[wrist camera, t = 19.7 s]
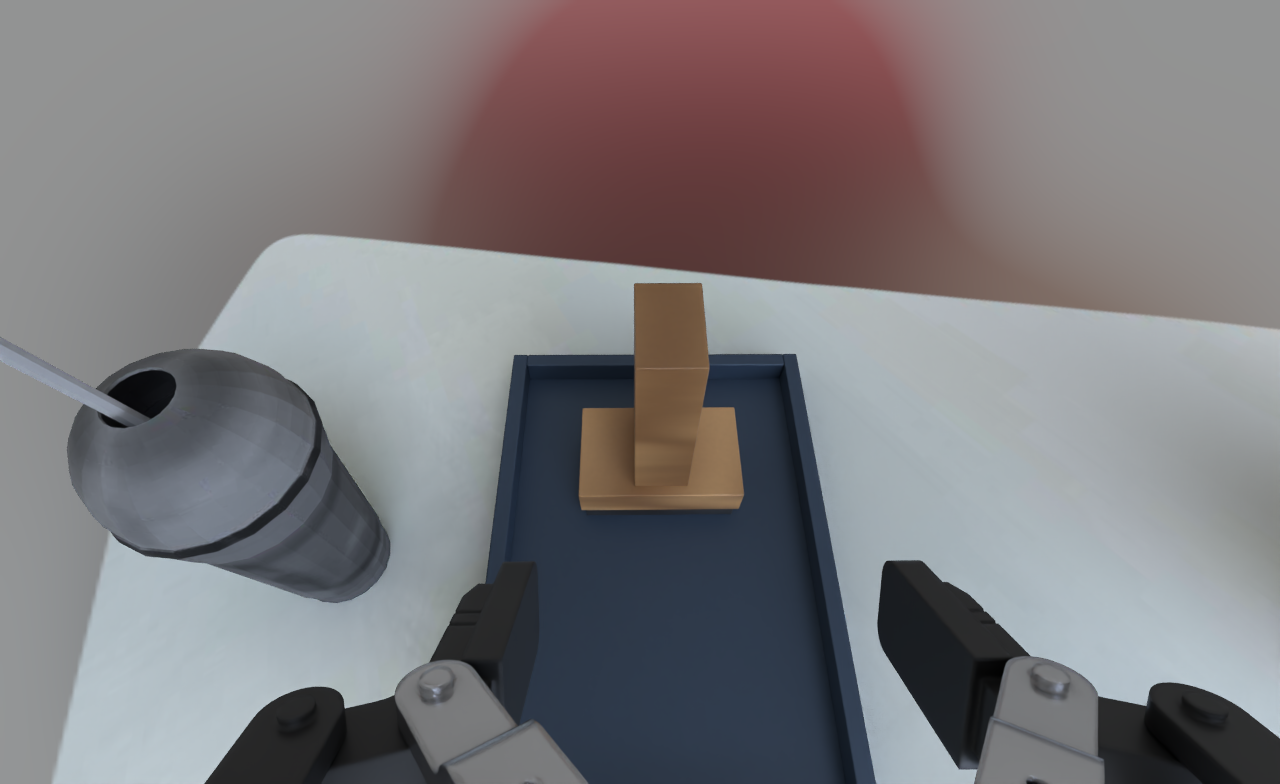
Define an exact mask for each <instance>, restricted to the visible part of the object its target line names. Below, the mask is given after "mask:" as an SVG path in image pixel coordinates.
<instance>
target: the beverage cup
mask: <svg viewBox="0 0 1280 784" xmlns="http://www.w3.org/2000/svg"><path fill="white" fill-rule="evenodd" d="M0 361H2V362H3V363H5V364H7V365H9V366H12V367H13V368H15V369H17V370H19V371H21V372H23V373H25V374H27V375H29V376H31V377H33V378H35V379H37V380H39V381H40V382H42V383H44V384H46V385H48V386H50V387H52V388H54V389H56V390H58V391H60V392H62V393H64V394H66V395H68V396H69V397H71V398H73V399H76V400H77V401H79V402H81V403H83V406H82V407H81V409H80V410H79V412H78V413H77V415H76V417H75V420H74V423H73V426H72V429H71V432H70V435H69V438H68V446H67V454H68V463H69V473H70V477H71V481H72V485H73V487H74V489H75V491H76V492H77V494H78V496H79V497H80V499H81V500H82V501H83V503H84V504H85V506H86V507H87V509H88V510H89V512H90V513H91V514H92V516H93V517H94V518H95V519H96V520H97V521H98V522H99V523H100V524H101V525H102V526H103V527H104V528H106V529H108V530H109V531H110V532H111V533H112V534H113V536H114V537H115V538H116V539H117V540H118V541H119V542H120V543H121V544H123V545H125V546H127V547H129V548H131V549H133V550H135V551H137V552H139V553H141V554H143V555H145V556H149V557H160V558H171V559H177V560H183V561H189V562H198V563H207V564H210V565H213V566H216V567H219V568H222V569H224V570H227V571H230V572H233V573H236V574H239V575H242V576H245V577H248V578H251V579H254V580H256V581H259V582H262V583H265V584H268V585H271V586H274V587H277V588H280V589H283V590H286V591H288V592H291V593H294V594H297V595H300V596H303V597H306V598H314V599H318V600H320V601H323V602H333V603H338V602H342V601H347V600H351V599H353V598H355V597H357V596H359V595H361V594H362V593H364V592H366V591H367V590H368V589H369V588H370V587H371V586H372V585H374V584H375V583H376V582H377V581H378V579H379V578H380V576H381V575H382V573H383V571H384V570H385V568H386V565H387V562H388V559H389V556H390V541H389V538H388V536H387V533H386V531H385V529H384V528H383V527H382V525H381V523H380V520H379V517H378V516H377V514H376V513H375V511H374V510H373V508H372V507H371V505H370V504H369V502H368V501H367V499H366V498H365V496H364V495H363V493H362V492H361V490H360V489H359V487H358V486H357V484H356V483H355V481H354V480H353V478H352V477H351V475H350V474H349V472H348V471H347V469H346V468H345V466H344V465H343V463H342V462H341V460H340V459H339V457H338V456H337V454H336V453H335V451H334V450H333V448H332V447H331V445H330V443H329V440H328V437H327V435H326V432H325V430H324V427H323V425H322V421H321V419H320V416H319V413H318V410H317V408H316V405H315V402H314V401H313V400H312V399H311V398H310V397H309V396H308V395H307V394H306V393H305V392H304V391H303V390H302V389H301V388H300V387H299V386H298V385H297V384H295V383H294V382H292V381H290V380H287V379H285V378H284V377H283V376H282V375H281V374H280V373H278V372H277V371H275V370H273V369H272V368H270V367H268V366H266V365H263V364H261V363H258V362H256V361H254V360H251V359H249V358H246V357H244V356H241V355H238V354H236V353H231V352H226V351H218V350H205V349H182V350H176V351H170V352H164V353H159V354H155V355H152V356H149V357H147V358H144V359H141V360H139V361H136V362H133V363H131V364H129V365H127V366H125V367H124V368H122V369H120V370H119V371H117V372H116V373H114V374H112V375H111V376H109V377H108V378H107V379H106V380H105V381H103V382H102V383H101V384H100V385H99V386H98V387H97V388H96V389H95V388H93V387H91V386H89V385H88V384H86V383H84V382H82V381H80V380H78V379H76V378H75V377H73V376H71V375H69V374H67V373H65V372H64V371H62V370H60V369H58V368H56V367H54V366H53V365H51V364H49V363H47V362H45V361H44V360H42V359H40V358H38V357H36V356H34V355H33V354H31V353H29V352H27V351H25V350H23V349H22V348H20V347H18V346H16V345H14V344H12V343H11V342H9V341H7V340H5V339H3V338H1V337H0Z"/></svg>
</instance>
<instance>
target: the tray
mask: <svg viewBox="0 0 1280 784" xmlns="http://www.w3.org/2000/svg"><path fill="white" fill-rule="evenodd" d="M708 356H709V367H710V369H709V374H708V379H707V385H706V390H705V396H704V401H703V406H702V408H709V407H734V409H735V418H736V427H737V436H738V445H739V454H740V462H741V471H742V480H743V489H744V496H743V499H742V502H741V504H740V507H739V509H733V511H732V513H731V514H683V515H587V513H586V510H581V506H580V500H579V476H580V455H581V433H582V411H583V408H634V355H528V356H527V355H514V361H513V369H512V377H511V385H510V393H509V401H508V409H507V416H506V424H505V432H504V440H503V448H502V456H501V464H500V472H499V480H498V488H497V496H496V504H495V512H494V520H493V528H492V536H491V544H490V552H489V560H488V568H487V576H486V584H493V583H494V581H495V579H496V576H497V574H498V572H499V570H500V567H501V565H502V563H503V562H521V561H535V562H536V564H537V573H538V599H539V643H538V650H537V655H536V659H535V663H534V667H533V671H532V675H531V679H530V683H529V687H528V691H527V695H526V699H525V704H524V708H523V712H522V716H521V720H520V724H522V723H523V722H525V721H527V720H529V719H534V720H536V721H537V722H539V724H540V725H541V726H542V727H543V728H544V729H545V731H546V732H547V733H548V734H549V735H550V737H551V738H552V739H553V740H554V742H555V743H556V744H557V745H558V746H559V748H560V749H561V750H562V751H563V753H564V754H565V755H566V756H567V757H568V759H569V760H570V761H571V762H572V764H573V765H574V766H575V767H576V768H577V770H578V771H579V772H580V773H581V775H582V776H583V777H584V778H585V779H586V781H587V782H588V783H589V784H876V782H875V777H874V771H873V766H872V761H871V755H870V750H869V744H868V739H867V734H866V728H865V723H864V717H863V712H862V707H861V701H860V696H859V691H858V685H857V680H856V674H855V669H854V664H853V658H852V653H851V647H850V642H849V637H848V631H847V626H846V621H845V615H844V610H843V604H842V599H841V594H840V588H839V583H838V578H837V572H836V567H835V561H834V556H833V551H832V545H831V540H830V534H829V529H828V524H827V518H826V513H825V508H824V502H823V497H822V491H821V486H820V481H819V475H818V470H817V465H816V459H815V454H814V448H813V443H812V438H811V432H810V427H809V421H808V416H807V411H806V405H805V400H804V395H803V389H802V384H801V378H800V373H799V368H798V362H797V357H796V354H783V355H782V354H714V355H708ZM520 724H519V725H520Z"/></svg>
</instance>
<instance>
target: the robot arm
mask: <svg viewBox="0 0 1280 784" xmlns="http://www.w3.org/2000/svg"><path fill="white" fill-rule="evenodd" d="M878 635H879V640H880V643H881V646H882V649H883V651H884V652H885V654H886V656H887V657H888V659H889V660H890V662H891V663H892V665H893V667H894V668H895V670H896V671H897V673H898V674H899V676H900V678H901V679H902V681H903V682H904V684H905V685H906V687H907V689H908V690H909V692H910V693H911V695H912V696H913V698H914V699H915V701H916V703H917V704H918V706H919V707H920V709H921V710H922V712H923V714H924V715H925V717H926V718H927V720H928V721H929V723H930V725H931V726H932V728H933V729H934V731H935V732H936V734H937V736H938V737H939V739H940V740H941V742H942V743H943V745H944V747H945V748H946V750H947V751H948V753H949V754H950V756H951V757H952V759H953V761H954V762H955V764H956V765H957V767H958V768H959V769H978V770H977V774H976V778H975V782H974V784H1280V738H1279V737H1277V736H1276V735H1275V734H1273V733H1272V732H1271V731H1270V730H1268V729H1267V728H1266V727H1265V726H1263V725H1262V724H1261V723H1259V722H1258V721H1257V720H1256V719H1254V718H1253V717H1252V716H1251V715H1249V714H1248V713H1247V712H1245V711H1244V710H1243V709H1241V708H1240V707H1238V706H1237V705H1235V704H1233V703H1232V702H1230V701H1228V700H1226V699H1224V698H1222V697H1220V696H1218V695H1216V694H1213V693H1211V692H1208V691H1206V690H1203V689H1200V688H1197V687H1193V686H1189V685H1185V684H1179V683H1159V684H1156V685H1154V686H1152V687H1151V689H1150V691H1149V696H1148V701H1147V706H1143V705H1138V704H1133V703H1128V702H1123V701H1118V700H1113V699H1108V698H1103V697H1099V696H1098V694H1097V691H1096V689H1095V688H1094V687H1093V685H1092V684H1091V683H1090V682H1089V681H1088V680H1087V679H1086V678H1084V677H1083V676H1082V675H1080V674H1079V673H1077V672H1076V671H1074V670H1072V669H1070V668H1069V667H1066V666H1064V665H1062V664H1060V663H1057V662H1054V661H1051V660H1048V659H1044V658H1039V657H1032V656H1030V655H1029V654H1028V653H1027V652H1026V651H1025V650H1024V649H1023V648H1022V647H1021V646H1020V645H1019V644H1018V643H1017V642H1016V641H1015V640H1014V639H1013V638H1012V637H1011V636H1010V635H1009V634H1008V633H1007V632H1006V631H1005V630H1004V629H1003V628H1002V627H1001V626H1000V625H999V624H996V623H995V620H994V619H993V618H992V617H991V616H990V615H989V614H988V613H987V612H984V611H983V608H982V607H981V606H980V605H979V604H978V603H977V602H976V601H975V600H974V599H973V598H972V597H971V596H970V595H969V594H967V593H965V592H964V591H962V590H960V589H959V588H957V587H955V586H953V585H952V584H950V583H948V582H942V581H941V580H940V579H939V578H938V577H937V576H936V575H935V574H934V573H933V572H932V571H931V570H930V569H929V568H928V566H927V565H926V564H925V563H924V562H922V561H919V560H911V561H886V562H885V564H884V566H883V570H882V580H881V590H880V601H879V612H878ZM538 643H539V599H538V573H537V564H536V562H535V561H521V562H503V563H502V565H501V567H500V570H499V572H498V574H497V576H496V579H495V581H494V583H493V584H477V585H476V586H475V587H474V588H473V589H471V590H470V591H469V592H468V593H466V594H465V595H464V596H463V597H462V599H461V601H460V603H459V605H458V607H457V609H456V613H455V614H454V615H453V617H452V619H451V621H450V624H449V626H448V627H447V629H446V631H445V633H444V635H443V637H442V638H441V640H440V642H439V644H438V646H437V648H436V650H435V652H434V654H433V656H432V658H431V660H430V662H429V663H427V664H425V665H422V666H420V667H418V668H416V669H414V670H413V671H411V672H410V673H408V674H407V675H406V676H405V677H404V678H403V679H402V680H401V681H400V682H399V684H398V686H397V688H396V691H395V695H394V696H392V697H389V698H387V699H384V700H380V701H376V702H372V703H368V704H363V705H359V706H355V707H350V708H346V709H345V708H344V700H343V697H342V695H341V694H340V693H339V692H338V691H336V690H335V689H332V688H328V687H309V688H304V689H300V690H296V691H293V692H290V693H288V694H285V695H283V696H281V697H279V698H277V699H276V700H274V701H272V702H271V703H269V704H268V705H266V706H265V707H264V708H263V709H262V710H260V711H259V712H258V713H257V715H256V716H255V717H254V718H253V719H252V721H251V722H250V723H249V725H248V726H247V727H246V729H245V730H244V731H243V733H242V734H241V735H240V737H239V738H238V739H237V741H236V742H235V743H234V745H233V746H232V747H231V749H230V750H229V751H228V753H227V754H226V755H225V757H224V758H223V760H222V761H221V762H220V764H219V765H218V766H217V768H216V769H215V770H214V772H213V773H212V774H211V776H210V777H209V778H208V780H207V781H206V782H205V784H589V783H588V782H587V781H586V779H585V778H584V777H583V776H582V775H581V773H580V772H579V771H578V770H577V768H576V767H575V766H574V765H573V764H572V762H571V761H570V760H569V759H568V757H567V756H566V755H565V754H564V753H563V751H562V750H561V749H560V748H559V746H558V745H557V744H556V743H555V742H554V740H553V739H552V738H551V737H550V735H549V734H548V733H547V732H546V731H545V729H544V728H543V727H542V726H541V725H540V724H539V722H537V721H536V720H534V719H529V720H527V721H525V722H523V723H522V724H520V720H521V716H522V712H523V708H524V704H525V699H526V695H527V691H528V687H529V683H530V679H531V675H532V671H533V667H534V663H535V659H536V655H537V650H538ZM519 724H520V725H519Z"/></svg>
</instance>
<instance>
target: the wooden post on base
mask: <svg viewBox="0 0 1280 784" xmlns="http://www.w3.org/2000/svg"><path fill="white" fill-rule="evenodd" d="M709 369H710V367H709V356H708V345H707V334H706V323H705V312H704V301H703V290H702V284H701V283H635V284H634V408H583V411H582V433H581V455H580V476H579V500H580V506H581V510H586V513H587V515H683V514H731V513H732V511H733V509H739V507H740V504H741V502H742V499H743V496H744V489H743V480H742V471H741V462H740V454H739V445H738V436H737V427H736V418H735V409H734V407H709V408H702V406H703V401H704V396H705V390H706V385H707V379H708V374H709Z"/></svg>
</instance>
